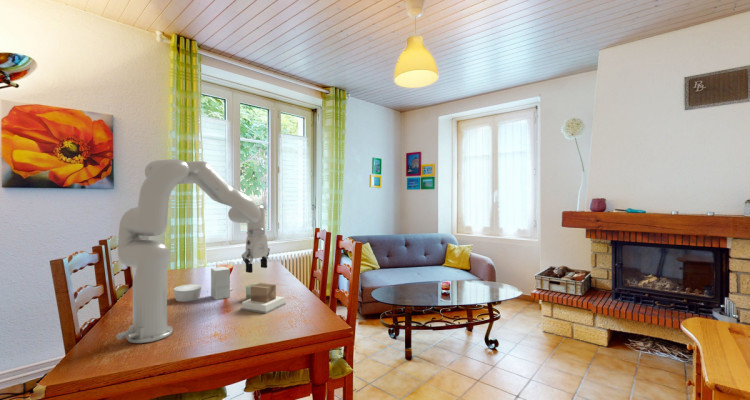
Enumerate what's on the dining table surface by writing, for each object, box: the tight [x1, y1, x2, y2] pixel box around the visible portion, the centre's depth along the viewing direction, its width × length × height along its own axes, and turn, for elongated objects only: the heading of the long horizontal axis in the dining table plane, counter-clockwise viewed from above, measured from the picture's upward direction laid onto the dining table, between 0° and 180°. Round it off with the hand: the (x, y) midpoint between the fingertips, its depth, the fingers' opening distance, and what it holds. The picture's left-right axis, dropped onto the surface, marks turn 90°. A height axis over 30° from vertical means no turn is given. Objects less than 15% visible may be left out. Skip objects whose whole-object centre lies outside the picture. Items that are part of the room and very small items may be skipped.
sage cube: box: [245, 282, 258, 301], centre depth 155 cm, size 6×6×6 cm
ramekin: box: [173, 283, 202, 303], centre depth 154 cm, size 11×11×5 cm
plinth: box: [240, 295, 287, 314], centre depth 143 cm, size 13×13×3 cm
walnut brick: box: [251, 282, 277, 303], centre depth 143 cm, size 6×8×6 cm
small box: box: [210, 266, 231, 301], centre depth 157 cm, size 8×6×13 cm
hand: (256, 269), depth 155 cm, fingers open, 9 cm apart
